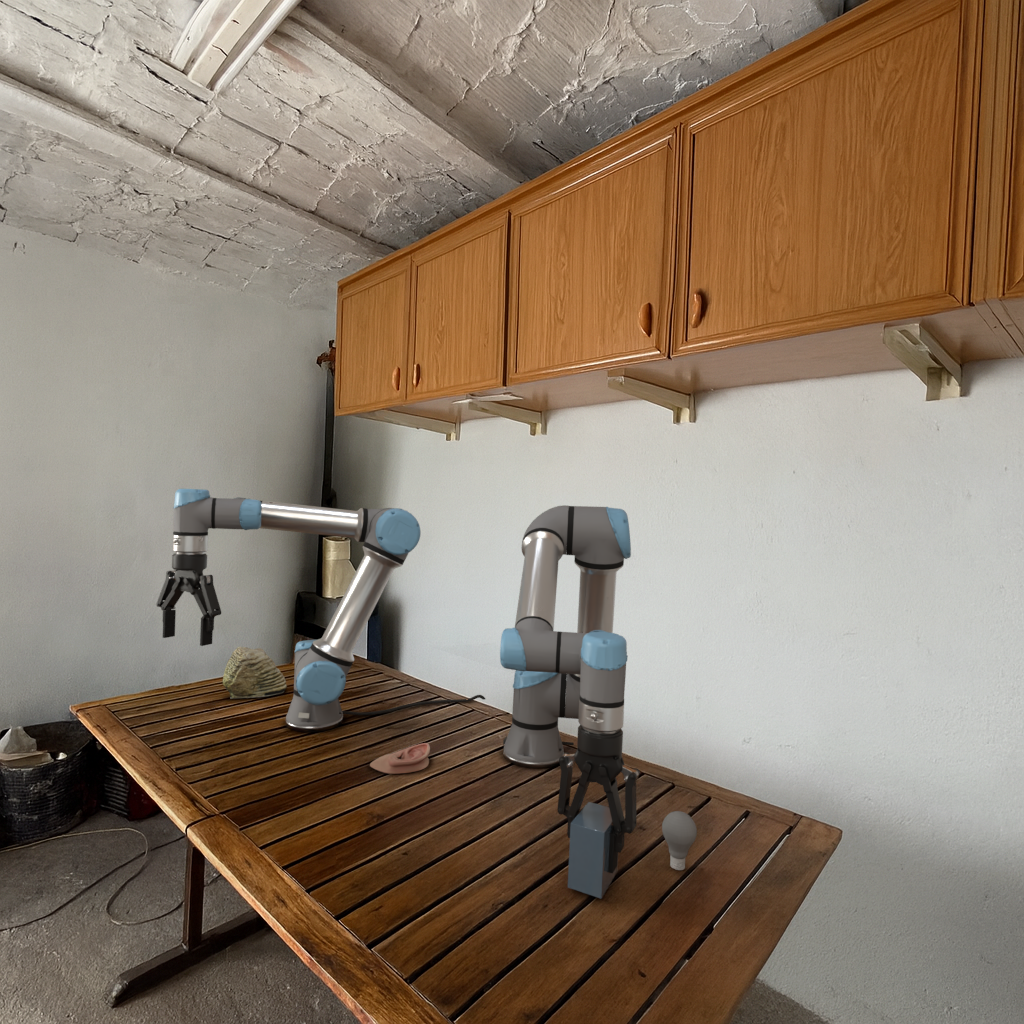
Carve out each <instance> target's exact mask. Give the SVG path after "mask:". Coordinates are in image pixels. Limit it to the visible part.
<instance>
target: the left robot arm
mask: <svg viewBox="0 0 1024 1024" xmlns="http://www.w3.org/2000/svg"><path fill="white" fill-rule="evenodd" d="M172 520H173V522H172V523H173V524H172V525H173V526H172V528H173V529H172V531H173V532H172V535H173V537H172V552H175V553H173V554H172V556H171V568H172V569H171V570H166V573H165V580H164V582H163V585H162V588H161V591H160V593H159V596H158V598H157V601H156V604H155V605H156V607H157V608H160V609H161V611H162V638H163V639H166V638H172V637H175V636H176V616H177V615H176V614H177V613H176V612H177V610H176V605H177V603H178V602H179V600H180V598H181V597H182V595H183V594H184V593H185V592H186V593H189V594H190V595H192V596H193V598H194V601H195V602H196V604H197V606H198V608H199V610H200V612H201V614H202V615H201V617H200V632H199V634H200V635H199V646H200V647H203V646H209V645H213V636H214V635H213V634H214V630H215V618H216V617H218V616H220V615H222V608H221V606H220V605H221V604H220V603H219V599H218V596H217V592H216V588H215V586H214V575H213V574H205V575H204V570H206V569H207V568H208V554H207V553H206V552H208V551H209V529H213V530H216V529H221V530H244V531H248V530H249V531H250V530H258V529H263V530H272V531H273V530H274V531H281V532H292V533H293V532H294V533H302V534H312V535H323V536H333V537H341V538H353V539H354V540H355V541H356V542H357V543H363V545H362V551H363V554H364V555H363V557H362V559H361V561H360V563H359V565H358V567H357V569H356V571H355V573H354V574H353V577H352V578H351V581H350V582H349V585H348V587H347V588H346V590H345V592H344V594H343V596H342V597H341V600H340V602H339V604H338V605H337V608H336V609H335V611H334V613H333V615H332V617H331V619H330V621H329V622H328V625H327V627H326V628H325V630H324V632H323V635H322V637H321V638H318V639H307V640H300V641H298V642H297V643H295V648H294V649H295V650H294V672H293V673H294V674H293V675H294V676H293V695H292V696H293V697H292V699H291V702H290V704H289V708H288V711H287V713H286V715H285V726H286V728H287V729H289V730H291V731H294V732H295V731H296V732H301V733H316V732H325V731H329V730H332V729H335V728H337V727H339V726H340V725H342V723H343V722H344V715H346V716H347V715H350V716H374V715H375V716H377V715H381V714H382V715H383V714H387V713H391V712H395V711H398V710H399V711H400V710H402V709H406V708H412V707H418V706H423V705H431V704H432V705H433V704H449V703H468V702H472V701H474V700H477V699H481V700H486V697H485V696H484V695H483V694H476V695H474V696H471V697H469V698H463V699H461V698H460V699H457V698H456V699H436V700H435V699H434V700H426V701H418V702H414V703H413V702H412V703H407V704H403V705H398V706H395V707H392V708H387V709H381V710H376V711H375V710H374V711H363V712H361V711H349V710H343V709H342V706H341V702H340V699H339V698H340V697H341V695H342V694H343V692H344V690H345V687H346V684H347V676H348V674H349V672H350V670H351V669H352V666H353V664H354V663H355V657H354V654H353V651H354V649H355V647H356V645H357V643H358V641H359V640H360V637H361V635H362V634H363V631H364V629H365V628H366V626H367V623H368V621H369V620H370V617H371V615H372V614H373V611H374V610H375V608H376V606H377V604H378V602H379V599H380V598H381V596H382V594H383V592H384V590H385V588H386V586H387V584H388V582H389V580H390V578H391V576H392V574H393V572H394V571H395V570H396V569H397V568H401V567H403V565H404V563H405V562H406V559H407V557H408V556H409V553H411V552H412V551H413V550H414V549H415V548H416V547H417V545H418V544H419V542H420V539H421V526H420V523H419V521H418V519H417V518H416V517H415V515H413V514H412V513H411V512H409V511H408V510H406V509H403V508H400V507H399V508H396V507H385V508H367V507H360V508H359V509H358V510H352V509H351V510H350V509H342V508H334V507H333V508H332V507H325V506H314V505H308V504H307V505H306V504H298V503H297V504H296V503H289V502H281V501H271V500H270V501H269V500H259V499H251V498H246V497H234V498H226V497H225V498H222V497H221V498H217V497H212V496H211V494H210V491H209V490H208V489H203V488H202V489H201V488H200V489H199V488H178V489H176V490H175V493H174V503H173V519H172ZM466 699H468V700H466Z"/></svg>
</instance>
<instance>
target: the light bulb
mask: <svg viewBox="0 0 1024 1024" xmlns="http://www.w3.org/2000/svg"><path fill="white" fill-rule="evenodd" d="M661 831H662V836H663V837H664V839H665V842H666V844H667V847H668V852H669V855H670V858H669V859H670V860H669V866H670V867H671V868H672V869H674V870H676V871H683V870H685V869H686V858H687V856H688V854H689V850H690V848H691V847H692V846H693V844H694V842H695V841H696V838H697V835H698V830H697V824H696V823H695V821H694V820H693V818H692V817H691V816H690V815H689V814H688V813H687V812H684V811H680V810H674V811H671V812H669V813H668V814H667V815H666V816H665V817H664V818H663V821H662V824H661Z"/></svg>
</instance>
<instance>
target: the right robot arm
mask: <svg viewBox="0 0 1024 1024" xmlns="http://www.w3.org/2000/svg"><path fill="white" fill-rule="evenodd" d="M521 553H522V556H523V557H524V558H523V566H522V573H521V579H520V588H519V593H518V594H519V595H518V599H517V600H518V602H517V608H516V615H515V623H514V627H511V628H510V627H509V628H505V629H503V631H502V633H501V638H500V646H499V647H500V648H499V661H500V665H501V666H502V668H504V669H507V670H512V671H514V677H513V684H512V688H513V693H512V694H513V697H512V713H511V726H510V728H509V731H508V733H507V735H505V737H504V738H503V741H502V746H503V752H502V755H503V757H504V759H505V760H506V761H508V762H509V763H510V764H514V765H516V766H519V767H524V768H530V769H544V768H551V767H554V766H557V765H559V767H560V771H561V772H560V778H559V779H560V781H559V788H558V789H559V790H558V800H557V810H556V811H557V813H558V814H559V815H563V816H565V817H566V819H567V831H566V835H567V838H568V839H570V826H571V822H572V821H573V820H574V819H575V817H576V816H577V815H578V814H579V813H580V811H581V808H582V806H583V802H584V799H585V797H586V794H587V791H588V788H589V785H590V783H596V784H598V785H600V786H602V788H603V792H604V793H605V796H606V800H607V803H608V804H607V805H608V807H609V809H610V813H611V818H612V822H613V826H614V828H613V830H612V831H611V833H610V845H609V866H608V872H609V873H612V874H613V872H614V870H615V869H616V867H617V863H618V864H619V854H621V852H622V851H623V850H624V848H625V837H626V835H625V834H630V835H631V834H632V833H633V832H634V830H635V828H636V827H637V821H638V820H637V819H638V817H637V815H638V814H637V782H638V779H639V777H640V775H641V772H640V769H638V768H637V767H635V768H631V767H630V766H627V765H626V764H625V761H624V758H623V743H624V742H623V741H624V730H623V727H624V724H625V723H624V722H625V692H626V691H625V689H626V688H625V687H626V678H627V677H626V675H627V674H626V673H627V662H628V656H629V655H628V651H627V649H628V647H627V646H628V645H627V644H628V642H627V640H626V637H624V636H622V635H619V634H618V633H615V632H614V619H615V618H614V616H615V606H616V605H615V602H616V588H617V587H616V586H617V572H618V571H620V569H622V568H623V567H624V563H625V560H628V559H630V558H631V557H632V545H631V532H630V523H629V517H628V513H627V512H626V510H624V509H622V508H617V507H609V506H589V505H587V506H586V505H585V506H583V505H582V506H581V505H557V506H553V507H551V508H548V509H547V510H544V511H543V512H542V513H540V514H539V515H537V517H535V518H534V519H533V520H532V521H531V522H530V524H529V525H528V527H527V528H526V529H525V531H524V534H523V537H522V541H521ZM564 555H565V556H574V564H575V566H577V567H578V569H579V570H580V571H579V592H578V609H577V610H578V612H577V631H576V632H574V631H572V632H571V631H559V630H557V631H555V630H554V629H555V618H556V617H555V613H556V603H557V586H558V576H559V575H558V573H559V561H560V560H561V559H562V557H563V556H564ZM560 718H561V719H572V720H573V719H574V720H577V721H578V723H579V724H578V727H577V738H576V739H577V740H576V741H577V742H576V747H577V749H576V751H575V752H574V753H570V752H568V751H567V752H565V750H564V746H574V745H575V743H574V742H572V741H562V738H561V734H560V730H559V719H560ZM575 763H576V766H577V767H578V769H579V771H580V773H581V774H580V777H579V780H578V785H577V787H576V789H575V792H574V796H573V798H572V801H570V800H571V792H572V791H571V790H572V781H573V773H574V772H573V771H574V770H573V769H574V766H575ZM621 773H622V775H623V776H622V777H623V782H625V785H624V806H625V807H624V811H623V806H622V803H621V798H620V794H619V793H620V792H619V789H618V781H617V777H618V775H619V774H621ZM570 802H571V804H570Z"/></svg>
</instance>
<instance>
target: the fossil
mask: <svg viewBox="0 0 1024 1024" xmlns="http://www.w3.org/2000/svg"><path fill="white" fill-rule="evenodd" d="M222 676H223V677H222V685H223V687H224V688H225V690H226V691H228V693H229V698H230V699H250V698H264V697H271V696H275V695H281V694H284V693H285V691H286V689H287V687H288V686H287V680H286V678H285V676H284V674H283V673H282V672H281V669H279V668H278V667H277V665H276V663H275V662H274V660H273V659H272V658H271V657H270V656H269V655H268V654H267V653H266V652H265V650H264V649H263V648H260V647H258V648H251V647H247V646H246V647H245V646H238V647H237V648H236V649H235V650H233V651H232V653H231V656H230V657H229V659H228V660H227V663H226V666H225V668H224V671H223V675H222Z"/></svg>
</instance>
